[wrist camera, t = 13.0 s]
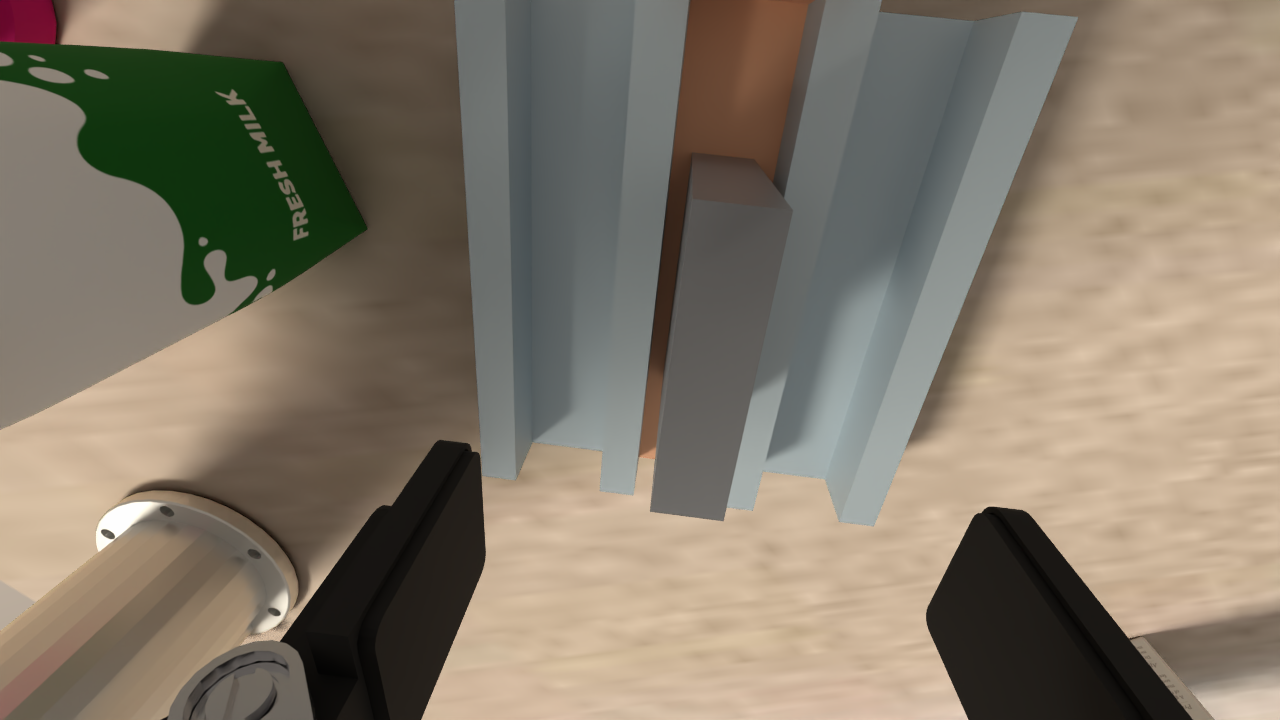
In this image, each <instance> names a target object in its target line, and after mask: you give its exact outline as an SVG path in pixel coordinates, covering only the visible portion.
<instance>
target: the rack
mask: <svg viewBox="0 0 1280 720" xmlns="http://www.w3.org/2000/svg"><path fill="white" fill-rule="evenodd" d="M881 3H882V0H454V6H455V23H456V40H457V57H458V73H459V90H460V107H461V124H462V140H463V157H464V174H465V191H466V208H467V224H468V241H469V258H470V275H471V291H472V308H473V325H474V342H475V359H476V375H477V392H478V409H479V426H480V442H481V459H482V476H486V477H494V478H502V479H510V480H516V479H517V476H518V474H519V472H520V470H521V467H522V465H523V463H524V460H525V458H526V456H527V453H528V451H529V449H530V447H531V444H532V442H534V443H542V444H550V445H558V446H566V447H574V448H581V449H589V450H597V451H603V453H602V467H601V480H600V491H603V492H611V493H618V494H626V495H634V488H635V481H636V474H637V467H638V459H639V457H643V458H651V459H655V454H656V444H657V433H658V423H659V412H660V402H661V391H662V380H663V372H664V364H665V356H666V349H667V341H668V333H669V326H670V318H671V310H672V303H673V295H674V287H675V280H676V272H677V264H678V257H679V249H680V241H681V234H682V226H683V218H684V211H685V203H686V195H687V188H688V180H689V172H690V164H691V157H692V152H693V153H703V154H712V155H721V156H730V157H739V158H748V159H754V160H755V161H756V162H757V163H758V165H759V166H760V167H761V169H762V170H763V171H764V173H765V174H766V175H767V177H768V178H769V179H770V181H771V182H772V183H773V184H774V186H775V187H776V188H777V190H778V191H779V192H780V194H781V195H782V196H783V198H784V199H785V200H786V202H787V203H788V204H789V205H790V207H791V208H792V209H793V213H792V218H791V222H790V227H789V231H788V236H787V240H786V245H785V249H784V254H783V258H782V262H781V267H780V271H779V276H778V280H777V285H776V289H775V294H774V298H773V303H772V307H771V312H770V316H769V320H768V325H767V329H766V334H765V338H764V343H763V347H762V352H761V356H760V361H759V365H758V369H757V374H756V378H755V383H754V387H753V392H752V396H751V401H750V405H749V410H748V414H747V419H746V423H745V427H744V432H743V436H742V441H741V445H740V450H739V454H738V459H737V463H736V468H735V472H734V477H733V481H732V485H731V490H730V494H729V499H728V503H727V508H735V509H743V510H751V511H753V508H754V504H755V500H756V496H757V492H758V488H759V485H760V481H761V477H762V473H763V471H764V472H772V473H779V474H787V475H795V476H803V477H811V478H819V479H825V481H826V484H827V487H828V490H829V493H830V496H831V499H832V502H833V505H834V508H835V511H836V514H837V517H838V520H839V522H844V523H852V524H859V525H867V526H874V525H875V522H876V520H877V517H878V515H879V512H880V510H881V507H882V505H883V502H884V500H885V497H886V495H887V492H888V490H889V488H890V485H891V483H892V480H893V478H894V475H895V473H896V470H897V468H898V465H899V463H900V460H901V458H902V455H903V453H904V450H905V448H906V445H907V443H908V440H909V438H910V435H911V433H912V430H913V428H914V425H915V423H916V420H917V418H918V415H919V413H920V410H921V408H922V405H923V403H924V400H925V398H926V395H927V393H928V390H929V388H930V385H931V383H932V380H933V378H934V375H935V373H936V371H937V368H938V366H939V363H940V361H941V358H942V356H943V353H944V351H945V348H946V346H947V343H948V341H949V338H950V336H951V333H952V331H953V328H954V326H955V323H956V321H957V318H958V316H959V313H960V311H961V308H962V306H963V303H964V301H965V298H966V296H967V293H968V291H969V288H970V286H971V283H972V281H973V278H974V276H975V273H976V271H977V268H978V266H979V263H980V261H981V258H982V256H983V253H984V251H985V249H986V246H987V244H988V241H989V239H990V236H991V234H992V231H993V229H994V226H995V224H996V221H997V219H998V216H999V214H1000V211H1001V209H1002V206H1003V204H1004V201H1005V199H1006V196H1007V194H1008V191H1009V189H1010V186H1011V184H1012V181H1013V179H1014V176H1015V174H1016V171H1017V169H1018V166H1019V164H1020V161H1021V159H1022V156H1023V154H1024V151H1025V149H1026V146H1027V144H1028V141H1029V139H1030V136H1031V134H1032V131H1033V129H1034V127H1035V124H1036V122H1037V119H1038V117H1039V114H1040V112H1041V109H1042V107H1043V104H1044V102H1045V99H1046V97H1047V94H1048V92H1049V89H1050V87H1051V84H1052V82H1053V79H1054V77H1055V74H1056V72H1057V69H1058V67H1059V64H1060V62H1061V59H1062V57H1063V54H1064V52H1065V49H1066V47H1067V44H1068V42H1069V39H1070V37H1071V34H1072V32H1073V29H1074V27H1075V24H1076V22H1077V19H1078V17H1072V16H1062V15H1052V14H1041V13H1031V12H1018V13H1012V14H1007V15H1002V16H997V17H992V18H987V19H982V20H977V21H968V20H958V19H948V18H938V17H928V16H918V15H907V14H897V13H887V12H879V11H880V7H881Z"/></svg>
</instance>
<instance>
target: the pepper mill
mask: <svg viewBox="0 0 1280 720" xmlns="http://www.w3.org/2000/svg"><path fill="white" fill-rule="evenodd" d="M56 26H57V23H56V18H55V13H54V8H53V4H52V0H0V41H2V42H22V43H41V44H55V39H56Z"/></svg>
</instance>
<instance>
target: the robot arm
mask: <svg viewBox="0 0 1280 720" xmlns="http://www.w3.org/2000/svg"><path fill="white" fill-rule="evenodd" d="M96 544H97V548H98V551H99V552H98V553H97V554H96V555H94V556H93V557H92V558H91V559H89V560H88V561H87V562H86V563H84V564H83V565H82V566H81V567H79V568H78V569H77V570H76V571H74V572H73V573H72V574H71V575H69V576H68V577H67V578H66V579H64V580H63V581H62V582H61V583H59V584H58V585H57V586H56V587H54V588H53V589H52V590H51V591H49V592H48V593H47V594H46V595H45V596H43V597H42V598H41V599H40V600H38V601H37V602H36V603H35V604H33V605H32V606H31V607H30V608H28V609H27V610H26V611H25V612H24V613H22V614H21V615H20V616H18V617H17V618H16V619H15V620H13V621H12V622H11V623H10V624H9V625H7V626H6V627H5V628H3V629H2V630H1V631H0V720H421V719H422V716H423V714H424V711H425V709H426V706H427V704H428V702H429V699H430V697H431V694H432V692H433V690H434V687H435V685H436V682H437V680H438V677H439V675H440V673H441V670H442V668H443V665H444V663H445V661H446V658H447V656H448V653H449V651H450V648H451V646H452V644H453V641H454V639H455V636H456V634H457V631H458V629H459V627H460V624H461V622H462V619H463V617H464V615H465V612H466V610H467V607H468V605H469V602H470V600H471V598H472V595H473V593H474V590H475V588H476V586H477V583H478V581H479V578H480V576H481V573H482V571H483V567H484V563H485V556H486V549H485V532H484V514H483V497H482V480H481V462H480V455H479V453H478V452H472V450H471V446H470V444H468V443H461V442H452V441H444V440H439V441H437V442H436V443H435V444H434V445H433V447H432V448H431V450H430V451H429V453H428V454H427V456H426V457H425V459H424V460H423V461H422V463H421V464H420V466H419V467H418V469H417V470H416V472H415V473H414V474H413V476H412V477H411V479H410V480H409V482H408V483H407V485H406V486H405V487H404V489H403V490H402V492H401V493H400V495H399V496H398V498H397V499H396V500H395V502H394V503H393V505H392V506H386V505H383V506H381V507H379V508H377V509H376V510H375V512H374V513H373V514H372V515H371V516H370V518H369V519H368V520H367V522H366V523H365V525H364V526H363V527H362V529H361V530H360V532H359V533H358V534H357V536H356V537H355V538H354V540H353V541H352V543H351V544H350V545H349V547H348V548H347V550H346V551H345V552H344V554H343V555H342V556H341V558H340V559H339V561H338V562H337V563H336V565H335V566H334V567H333V569H332V570H331V572H330V573H329V574H328V576H327V577H326V579H325V580H324V581H323V583H322V584H321V585H320V587H319V588H318V590H317V591H316V592H315V594H314V595H313V597H312V598H311V599H310V601H309V602H308V603H307V605H306V606H305V608H304V609H303V610H302V612H301V613H300V615H299V616H298V617H297V619H296V620H295V621H294V623H293V624H292V626H291V627H290V628H289V630H288V631H287V632H286V634H285V635H284V637H283V638H282V639H281V641H280V642H278V641H273V640H270V641H257V642H252V643H249V644H245V645H242V646H240V645H241V644H242V642H243V641H244V640H245V639H246V637H247V636H248V635H255V634H259V633H262V632H266V631H269V630H270V629H272V628H274V627H276V626H278V625H279V624H280V623H281V622H282V621H283V620H284V619H285V618H286V616H287V615H288V613H289V612H290V610H291V609H292V608H293V606H294V605H295V603H296V600H297V596H298V580H297V577H296V574H295V570H294V568H293V566H292V564H291V562H290V560H289V559H288V557H287V555H286V554H285V553H284V551H283V550H282V549H281V548H280V546H279V545H278V544H277V542H275V541H274V540H273V539H272V538H271V537H270V536H269V535H268V534H267V533H266V532H265V531H264V530H263V529H261V528H260V527H259V526H257V525H256V524H255V523H253V522H252V521H250V520H249V519H248V518H246V517H244V516H243V515H241V514H239V513H237V512H236V511H234V510H232V509H230V508H228V507H226V506H224V505H221V504H219V503H217V502H214V501H212V500H209V499H206V498H203V497H199V496H196V495H193V494H188V493H182V492H176V491H155V490H153V491H146V492H140V493H136V494H134V495H131V496H129V497H126V498H124V499H123V500H122V501H120V502H119V503H118V504H116V505H115V506H113V507H112V508H111V509H109V510H108V511H107V512H106V513H105V514H104V515H103V516H102V518H101V519H100V520H99V523H98V525H97V528H96ZM926 621H927V626H928V629H929V632H930V634H931V636H932V638H933V641H934V643H935V645H936V647H937V650H938V652H939V654H940V656H941V659H942V661H943V663H944V665H945V668H946V670H947V672H948V674H949V677H950V679H951V681H952V683H953V686H954V688H955V690H956V692H957V695H958V697H959V699H960V701H961V704H962V706H963V708H964V710H965V713H966V715H967V717H968V719H969V720H1193V719H1192V718H1191V716H1190V715H1189V714H1188V713H1187V711H1186V710H1185V709H1184V708H1183V706H1182V705H1181V704H1180V703H1179V701H1178V700H1177V699H1176V698H1175V696H1174V695H1173V694H1172V693H1171V691H1170V690H1169V689H1168V687H1167V686H1166V685H1165V684H1164V682H1163V681H1162V680H1161V679H1160V677H1159V676H1158V675H1157V674H1156V672H1155V671H1154V670H1153V669H1152V667H1151V666H1150V665H1149V664H1148V662H1147V661H1146V660H1145V659H1144V657H1143V656H1142V655H1141V654H1140V652H1139V651H1138V650H1137V649H1136V647H1135V646H1134V645H1133V644H1132V642H1131V641H1130V640H1129V639H1128V637H1127V636H1126V635H1125V633H1124V632H1123V631H1122V630H1121V628H1120V627H1119V626H1118V625H1117V623H1116V622H1115V621H1114V620H1113V618H1112V617H1111V616H1110V615H1109V613H1108V612H1107V611H1106V610H1105V608H1104V607H1103V606H1102V605H1101V603H1100V602H1099V601H1098V600H1097V598H1096V597H1095V596H1094V595H1093V593H1092V592H1091V591H1090V590H1089V588H1088V587H1087V586H1086V585H1085V583H1084V582H1083V581H1082V579H1081V578H1080V577H1079V576H1078V574H1077V573H1076V572H1075V571H1074V569H1073V568H1072V567H1071V566H1070V564H1069V563H1068V562H1067V561H1066V559H1065V558H1064V557H1063V556H1062V554H1061V553H1060V552H1059V551H1058V549H1057V548H1056V547H1055V546H1054V544H1053V543H1052V542H1051V541H1050V539H1049V538H1048V537H1047V536H1046V534H1045V533H1044V532H1043V531H1042V529H1041V528H1040V527H1039V525H1038V524H1037V523H1036V522H1035V520H1034V519H1033V518H1032V517H1031V516H1030V515H1029V514H1028V513H1027V512H1025V511H1023V510H1017V509H1008V508H1000V507H987V508H986V509H984V511H983V512H982V513H978V514H976V515H975V516H974V517H973V519H972V521H971V523H970V525H969V527H968V529H967V531H966V533H965V535H964V537H963V539H962V541H961V543H960V545H959V547H958V548H957V550H956V552H955V554H954V556H953V558H952V560H951V562H950V564H949V566H948V568H947V570H946V572H945V574H944V576H943V578H942V580H941V582H940V584H939V586H938V588H937V590H936V592H935V594H934V596H933V598H932V600H931V602H930V604H929V606H928V608H927V612H926Z"/></svg>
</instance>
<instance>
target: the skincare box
mask: <svg viewBox="0 0 1280 720" xmlns="http://www.w3.org/2000/svg"><path fill="white" fill-rule="evenodd" d="M1130 641H1131V642H1132V644H1133V645H1134V646H1135V647H1136V649H1137V650H1138V651H1139V652H1140V654H1141V655H1142V656H1143V657H1144V659H1145V660H1146V661H1147V662H1148V664H1149V665H1150V666H1151V667H1152V669H1153V670H1154V671H1155V672H1156V674H1157V675H1158V676H1159V677H1160V679H1161V680H1162V681H1163V682H1164V684H1165V685H1166V686H1167V687H1168V689H1169V690H1170V691H1171V693H1172V694H1173V695H1174V696H1175V698H1176V699H1177V700H1178V701H1179V703H1180V704H1181V705H1182V706H1183V708H1184V709H1185V710H1186V711H1187V713H1188V714H1189V715H1190V716H1191V718H1192V719H1193V720H1214V719H1213V717H1212V716H1211V715H1210V714H1209V713H1208V711H1207V710H1206V709H1205V708H1204V707H1203V706H1202V704H1201V703H1200V702H1199V701H1198V700H1197V698H1196V697H1195V696H1194V695H1193V694H1192V693H1191V691H1190V690H1189V689H1188V688H1187V687H1186V686H1185V684H1184V683H1183V682H1182V681H1181V680H1180V679H1179V677H1178V676H1177V675H1176V674H1175V673H1174V672H1173V670H1172V669H1171V668H1170V667H1169V666H1168V665H1167V663H1166V662H1165V661H1164V660H1163V659H1162V658H1161V656H1160V655H1159V654H1158V653H1157V652H1156V651H1155V650H1154V648H1153V647H1152V646H1151V645H1150V644H1149V643H1148V641H1147V640H1146V639H1145V638H1144V637H1138V638H1135V639H1132V640H1130Z"/></svg>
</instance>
